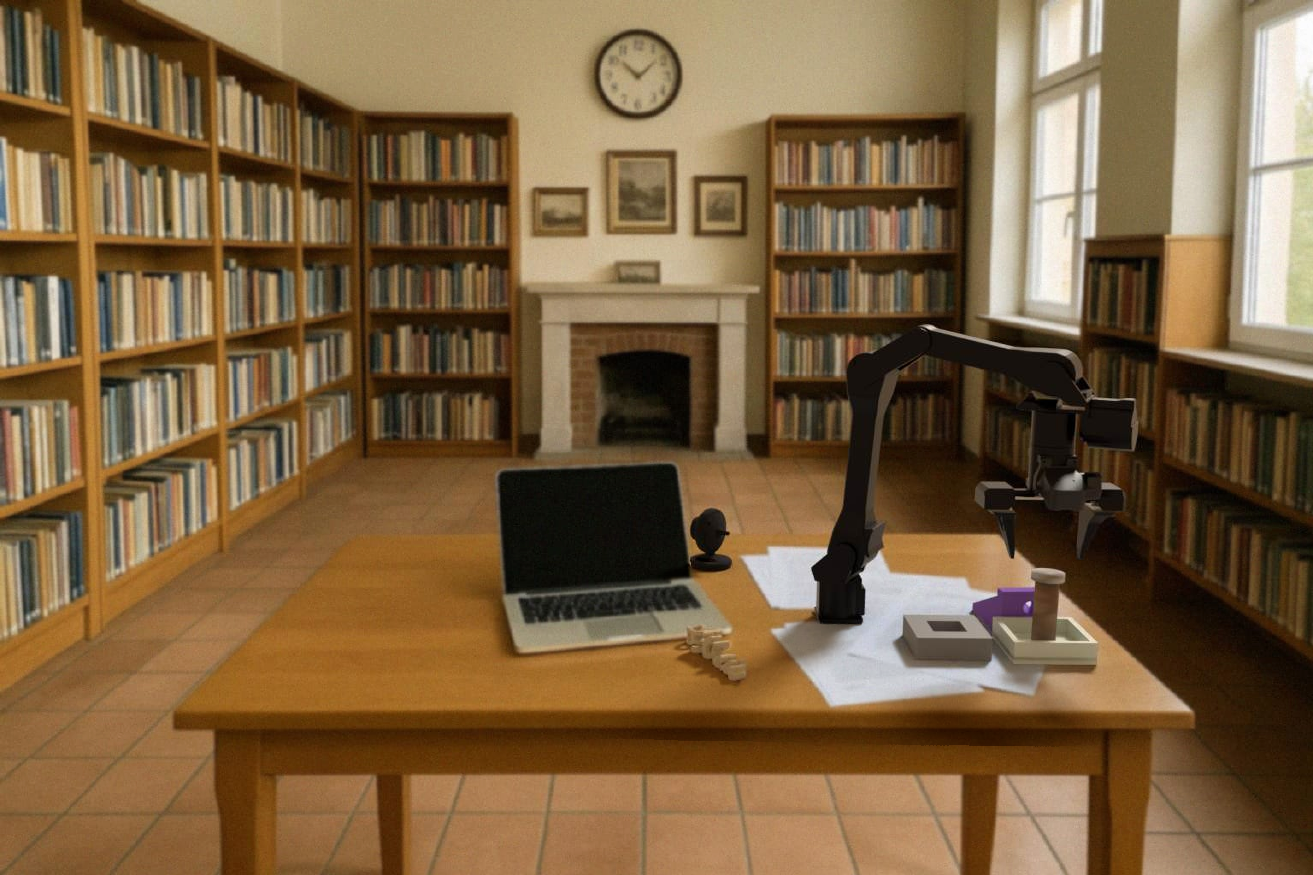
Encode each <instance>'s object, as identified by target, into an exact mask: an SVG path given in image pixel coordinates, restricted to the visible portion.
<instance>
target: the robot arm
mask: <svg viewBox="0 0 1313 875" xmlns="http://www.w3.org/2000/svg"><path fill="white" fill-rule="evenodd" d="M924 356H927V357H931V358H935V359H940V360H944V361H946V362H951V363H955V364H959V365H963V366H967V367H971V368H975V369H979V370H983V371H986V372H991V373H995V374H999V375H1002V376H1004V377H1007V378H1009V379H1012V380H1013V381H1015V382H1016V383H1019V384H1020V385H1022V386H1023V387H1026V388H1028V389H1030V390H1032V391H1030V392H1029V393H1028V394H1027V396H1026V397H1025V398H1024V399H1023V400H1022V401H1021V402H1019V403H1018V404H1017V405H1016V409H1017V410H1020V411H1031V426H1030V427H1031V428H1030V443H1029V445H1030V446H1029V448H1027V457H1029V463H1028V477H1026V478H1025V486H1026V487H1027V488H1014V487H1013V486H1011V485H1010V484H1008V483H1007V482H1006V481H980V482H979V483H978V484H977V485H976V486H975V489H974V490H975V491H974V502H976V504H978V505H979V506H980V507H981V508H982V509H984V510H987V511H988V512H989V513H990V514H992V515H993V516H994V518H995V520H996V522H997V524H998V527H999V529H1000V532H1001V535H1002V536H1001V537H1002V539H1003V542H1004V546H1005V548H1006V551H1007V554H1008V557H1009V559H1012V560H1014V559H1015V552H1016V533H1015V532H1016V530H1015V529H1016V528H1015V522H1016V517H1017V512H1016V511H1015V510H1013V507H1014V506H1015V505H1016V503H1019V504H1020V503H1026V504H1027V503H1029V504H1032V503H1033V504H1036V503H1038V504H1039V503H1041V504H1044V503H1045V507H1046V508H1047V509H1048V510H1049V511H1050V510H1051V511H1055V512H1060V511H1062V510H1064V511H1065V510H1067V511H1068V510H1070V511H1075V512H1078V525H1077V537H1076V538H1077V539H1076V558H1077V559H1078V560H1083V559H1084V557H1085V555H1086V553H1087V551H1088V548H1089V546H1090V544H1091V541H1092V540H1093V537H1094V536H1095V533H1096V532H1097V530H1098V528H1099V526H1101V524H1102V523H1103V522H1104V521H1106V519H1107V518H1112V517H1115V515H1116V512H1124V511H1127V509H1126V508H1127V496H1126V492H1125V491H1124V490H1123V489H1122V488H1120V487H1119V486H1117V485H1115V484H1113V483H1111V482H1103V476H1102V475H1101V472H1099V471H1086V472H1080V471H1079V468H1078V465H1079V464H1078V462H1079V461H1078V456H1077V455H1076V453H1075V452H1076V440H1077V426H1078V425H1077V424H1078V423H1077V422H1078V415H1080V416H1079V417H1080V418H1079V430H1078V432H1079V433H1078V437H1079V440H1082V443H1086V446H1087V448H1089V449H1100V450H1111V451H1121V452H1122V451H1123V452H1135V449H1136V446H1137V439H1138V432H1139V421H1138V410H1137V401H1138V400H1137V399H1136V398H1131V397H1129V398H1128V397H1125V398H1106V397H1098V396H1097V394H1096V392H1095V391H1094V389H1093V388H1092V387H1091V385H1090V384H1089V383H1088V381H1087V379H1086V378H1085V377H1084V375H1083V374H1084V368H1083V363H1082V361H1081V360H1080V358H1079V357H1078V354H1076V353H1075V352H1073V351H1071V350H1068V349H1063V348H1048V347H1022V346H1021V347H1020V346H1012V345H1010V344H1009V345H1007V344H1003V343H1000V342H995V341H991V340H988V339H984V338H983V339H982V338H980V337H974V336H970V335H966V334H962V333H958V332H954V331H949V330H946V329H942V328H938V327H935V325H932V324H921V325H917V326H913V327H912V328H910V329H909V330H908V331H907V332H906V333H904V334H903V335H901V336H899V337H898V338H896V339H894V340H892V341H891V342H889V343H887V344H886V345H883V346H881V347H880V348H878V349H873V350H872V349H871V350H869V351H864V352H860V353H858V354H856V355H854V356H853V357H852V358H851V359H849V361H848V363H847V366H846V369H845V377H846V378H845V379H846V380H845V381H846V395H847V398H848V402H849V406H850V409H851V425H850V435H849V441H848V442H849V443H848V453H847V459H846V460H847V463H846V470H845V480H844V481H845V483H844V491H843V499H842V500H843V501H842V508H841V511H840V512H839V515H838V517H837V519H836V522H835V523H834V526H833V528H832V530H831V531H832V532H831V535H830V539H829V542H828V546H827V549H826V554H825V555H824V556H822V557H821V558H820V559H819V560H818V561H816V563H814V564H813V565H812V566H811V567H810V569H811V574H812V577H813V580H814V581H815V582H816V600H815V601H816V602H815V606H814V607H813V611H814V613H815V615H816V619H817V622H818V623H823V624H824V623H825V624H827V623H834V624H835V623H840V624H841V623H843V624H844V623H845V624H846V623H847V624H849V623H850V624H854V623H855V624H858V623H859V624H861V623H864V618H863V616H864V615H866V591H867V590H866V588H865V586H864V584H863V579H862V576H861V573H863V572H864V571H865V569H866V566H867V565H868V564H869V563H870V562H872V561H873V560H874V559H875V558H876V557H877V556H878V554H879V552H880V551H881V550H882V549H883V548H884V547H885V546H884V542H883V541H884V540H883V536H884V532H885V527H886V521H877V518H876V514H875V510H874V506H875V495H876V488H877V481H878V480H877V477H878V469H879V460H880V451H881V443H882V442H881V441H882V435H883V434H882V433H883V426H884V416H885V413H886V410H887V409H888V406H889V404H890V401H891V399H892V397H893V395H894V391H895V388H896V385H897V383H898V382H897V381H898V378H899V374H900V372H901V371H903V370H905V369H906V368H909V367H910V366H911V365H912V364H914V363H915V362H917V361H919V360H920V359H921V358H922V357H924ZM1038 393H1039V394H1041V395H1044V396H1046V397H1040V396H1039V395H1038ZM1051 397H1052V398H1051ZM1054 397H1055V398H1054ZM1056 397H1057V398H1056ZM1063 402H1064V403H1065V404H1067V405H1063V404H1064V403H1063Z"/></svg>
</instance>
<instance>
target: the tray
mask: <svg viewBox="0 0 1313 875" xmlns="http://www.w3.org/2000/svg"><path fill="white" fill-rule="evenodd" d="M1032 618H1033V617H993V624H992V629H991V637H992V638H993V641H994V642H995V643H996V644H997V646H998V647H999V648H1000V649H1001V651H1003V653H1004V654H1005V655H1006V657H1007V658H1008V659H1009V660H1010V662H1011V663H1012V664H1013V665H1061V666H1064V665H1066V666H1067V665H1069V666H1070V665H1077V666H1078V665H1079V666H1080V665H1081V666H1082V665H1083V666H1087V665H1088V666H1089V665H1090V666H1092V665H1093V666H1097V665H1098V651H1099V649H1098V648H1099V642H1098V641H1097V640H1095V638H1094V637H1092V636H1091V634H1090V633H1088V632H1087V630H1085V629H1084V628H1083V627H1082V626H1081V625H1080V624H1079V623H1078V622H1077V621H1076V620H1075V619H1074V618H1073V617H1072V616H1067V617H1066V616H1057V628H1056V641H1031V631H1032Z"/></svg>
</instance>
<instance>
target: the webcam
mask: <svg viewBox="0 0 1313 875" xmlns="http://www.w3.org/2000/svg"><path fill="white" fill-rule="evenodd" d="M689 527H690V528H689V534H690V537H691V539H692V540H694V541H695V544H696V547H697V548H698V550H700V552H703V553H697V554H694V555H691V556H690V557H689V558H690V562H691V566H692V567H691V566H690V567H691V568H693V569H695V570H698V571H707V572H710V571H711V572H716V571H723V570H727V569H729V568H731V566H733V560H732V558H731V557H730V556H728V555H726V554H721V553H716V552H717V551H718V550H719V549H720V548H721V546H722V545H723V544H724V541H725V540H726V539H725V538H726V536H728V537H729V536H730V535H731V532H730V531H728V530H727V520H726V516H725V514H724V513H723V511H722V510H720V509H718V508H714V507H709V508H706V509H704V510H703V511H702V512H701V513H700V514H699V515H698V516H695V517H694V518H693V520H691V523H690V526H689Z"/></svg>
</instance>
